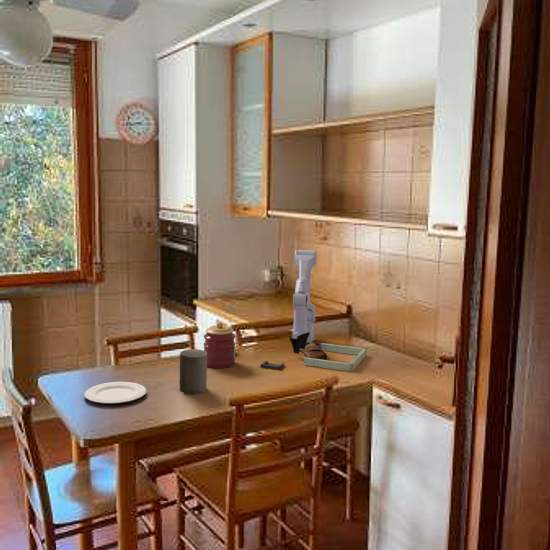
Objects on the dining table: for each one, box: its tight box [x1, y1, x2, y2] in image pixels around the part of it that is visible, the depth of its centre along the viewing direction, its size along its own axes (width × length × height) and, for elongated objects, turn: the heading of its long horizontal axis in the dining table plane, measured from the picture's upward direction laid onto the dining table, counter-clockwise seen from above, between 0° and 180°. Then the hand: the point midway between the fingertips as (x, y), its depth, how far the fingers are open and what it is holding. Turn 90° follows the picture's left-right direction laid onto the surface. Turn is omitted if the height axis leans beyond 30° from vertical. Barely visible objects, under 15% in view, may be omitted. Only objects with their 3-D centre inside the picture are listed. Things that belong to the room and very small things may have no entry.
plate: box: [84, 381, 147, 405], centre depth 210 cm, size 21×21×2 cm
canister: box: [203, 321, 237, 369], centre depth 247 cm, size 13×13×18 cm
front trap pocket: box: [260, 360, 285, 371], centre depth 247 cm, size 6×8×1 cm
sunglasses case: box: [299, 341, 328, 360], centre depth 265 cm, size 18×7×7 cm
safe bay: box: [303, 342, 367, 373], centre depth 258 cm, size 25×20×3 cm
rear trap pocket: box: [306, 342, 322, 349], centre depth 277 cm, size 5×8×1 cm, turn 69°
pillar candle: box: [178, 348, 208, 395], centre depth 217 cm, size 10×10×15 cm
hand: (299, 350), depth 263 cm, fingers open, 7 cm apart
